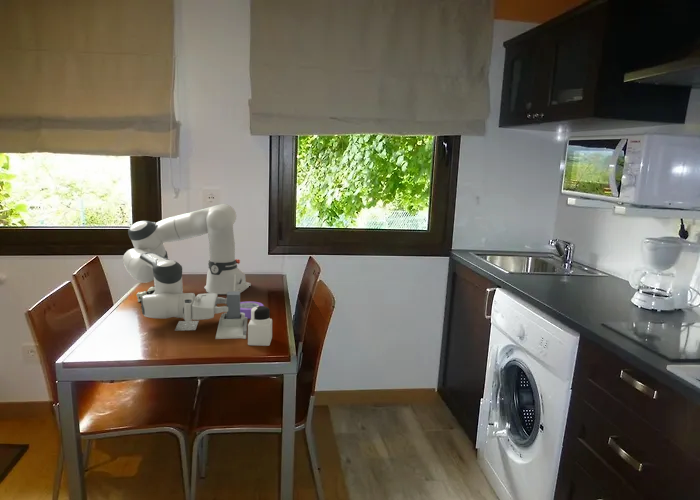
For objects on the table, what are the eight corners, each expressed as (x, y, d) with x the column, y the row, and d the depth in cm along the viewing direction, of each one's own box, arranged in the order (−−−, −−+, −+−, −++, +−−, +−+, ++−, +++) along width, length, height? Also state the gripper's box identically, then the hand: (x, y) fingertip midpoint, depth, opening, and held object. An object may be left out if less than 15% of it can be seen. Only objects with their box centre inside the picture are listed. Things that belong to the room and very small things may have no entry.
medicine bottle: (272, 338, 170) (272, 304, 168) (269, 346, 163) (269, 311, 161) (251, 337, 170) (251, 304, 168) (247, 345, 163) (247, 310, 161)
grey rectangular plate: (178, 321, 183) (179, 321, 183) (198, 321, 184) (198, 320, 184) (174, 331, 173) (174, 330, 173) (195, 330, 174) (195, 330, 174)
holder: (220, 320, 186) (220, 311, 186) (247, 319, 188) (247, 310, 188) (215, 339, 167) (215, 329, 166) (246, 338, 169) (246, 328, 168)
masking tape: (231, 311, 199) (231, 302, 198) (260, 309, 203) (260, 300, 202) (235, 320, 188) (235, 310, 187) (266, 318, 192) (266, 308, 191)
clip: (227, 320, 183) (227, 291, 181) (240, 320, 184) (240, 291, 182) (226, 324, 179) (226, 294, 177) (239, 324, 180) (239, 294, 178)
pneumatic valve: (133, 295, 200) (164, 289, 202) (139, 288, 211) (168, 282, 213) (136, 308, 201) (167, 302, 203) (142, 300, 212) (171, 295, 214)
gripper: (192, 305, 188) (230, 304, 190) (185, 323, 168) (227, 322, 170) (192, 289, 186) (230, 288, 189) (185, 305, 167) (227, 304, 169)
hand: (229, 304), depth 180 cm, fingers open, 8 cm apart
